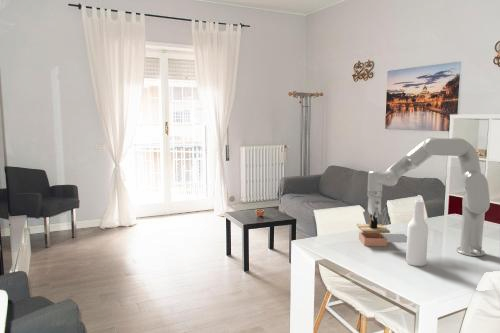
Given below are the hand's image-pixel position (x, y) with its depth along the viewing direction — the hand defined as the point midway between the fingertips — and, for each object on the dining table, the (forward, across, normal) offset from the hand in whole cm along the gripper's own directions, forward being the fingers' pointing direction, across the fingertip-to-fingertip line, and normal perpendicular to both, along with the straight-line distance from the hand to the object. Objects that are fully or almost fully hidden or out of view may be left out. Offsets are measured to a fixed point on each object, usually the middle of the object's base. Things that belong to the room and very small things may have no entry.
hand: (372, 226), depth 216 cm
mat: (+9, +9, -15) cm, 20 cm away
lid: (+2, 0, 0) cm, 2 cm away
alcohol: (+10, -30, -12) cm, 34 cm away
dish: (+9, 0, 0) cm, 9 cm away
